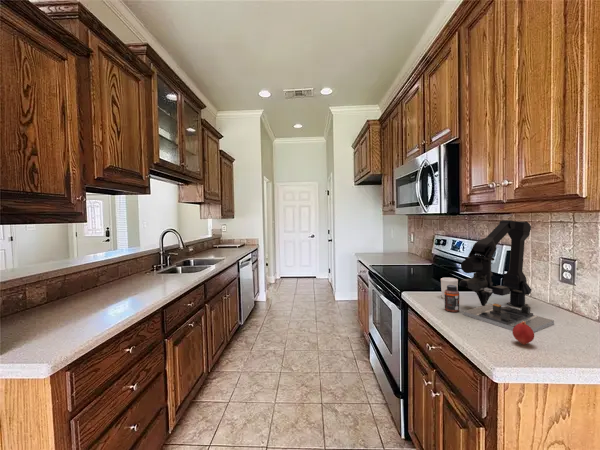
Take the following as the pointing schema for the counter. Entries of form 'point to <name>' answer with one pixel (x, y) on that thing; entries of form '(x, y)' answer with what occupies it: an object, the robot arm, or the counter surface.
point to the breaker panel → (530, 323)
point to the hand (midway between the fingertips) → (483, 305)
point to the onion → (523, 333)
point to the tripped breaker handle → (497, 307)
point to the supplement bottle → (452, 298)
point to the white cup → (447, 282)
